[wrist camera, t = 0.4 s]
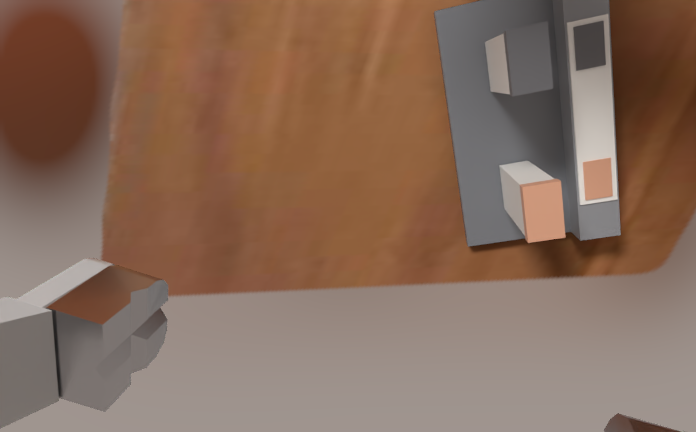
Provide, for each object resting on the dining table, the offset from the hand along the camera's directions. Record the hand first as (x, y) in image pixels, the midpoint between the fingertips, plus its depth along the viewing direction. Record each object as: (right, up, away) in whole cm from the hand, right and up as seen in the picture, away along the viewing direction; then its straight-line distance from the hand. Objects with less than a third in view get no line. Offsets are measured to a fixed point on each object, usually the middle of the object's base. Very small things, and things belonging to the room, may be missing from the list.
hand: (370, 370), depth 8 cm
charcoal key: (+16, +18, +39) cm, 46 cm away
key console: (+19, +13, +42) cm, 48 cm away
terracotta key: (+18, +6, +42) cm, 47 cm away
